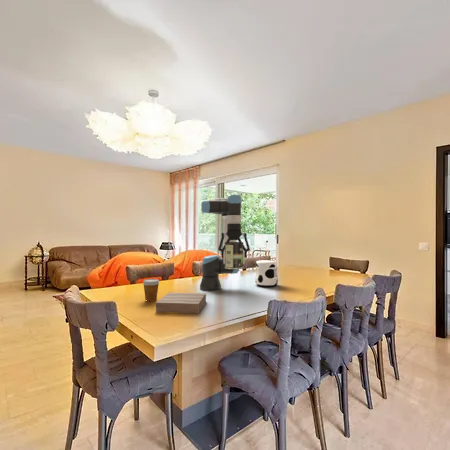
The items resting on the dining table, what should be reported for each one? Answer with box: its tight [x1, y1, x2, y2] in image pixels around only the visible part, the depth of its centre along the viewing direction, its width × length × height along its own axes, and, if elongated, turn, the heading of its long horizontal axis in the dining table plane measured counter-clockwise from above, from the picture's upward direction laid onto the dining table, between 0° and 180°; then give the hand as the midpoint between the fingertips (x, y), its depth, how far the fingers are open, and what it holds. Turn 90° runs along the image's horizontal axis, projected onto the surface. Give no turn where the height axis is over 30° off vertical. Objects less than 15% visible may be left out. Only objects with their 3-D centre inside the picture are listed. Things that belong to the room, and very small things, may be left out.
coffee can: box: [225, 241, 244, 270], centre depth 153 cm, size 10×10×14 cm
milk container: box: [254, 259, 279, 288], centre depth 209 cm, size 17×17×18 cm
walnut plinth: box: [155, 292, 207, 314], centre depth 152 cm, size 22×22×5 cm
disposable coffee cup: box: [142, 278, 160, 302], centre depth 166 cm, size 10×10×12 cm
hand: (234, 263), depth 153 cm, fingers closed on coffee can, 10 cm apart
